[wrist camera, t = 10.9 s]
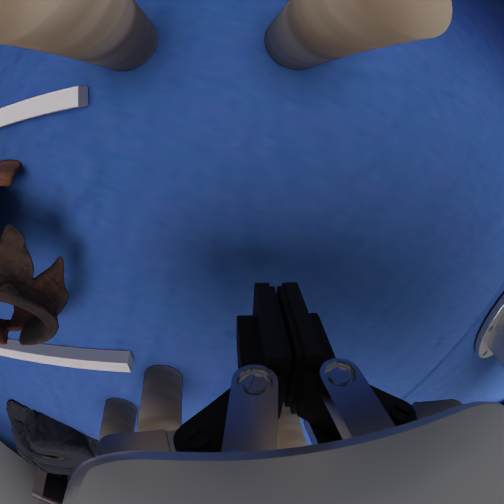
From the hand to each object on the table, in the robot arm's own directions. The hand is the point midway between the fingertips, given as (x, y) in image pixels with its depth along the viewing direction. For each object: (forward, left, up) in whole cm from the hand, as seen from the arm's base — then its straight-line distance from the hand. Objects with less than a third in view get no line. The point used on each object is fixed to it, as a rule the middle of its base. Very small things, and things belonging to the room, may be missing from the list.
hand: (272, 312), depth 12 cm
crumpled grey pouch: (+27, +30, -6) cm, 41 cm away
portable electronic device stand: (+34, +44, -5) cm, 56 cm away
